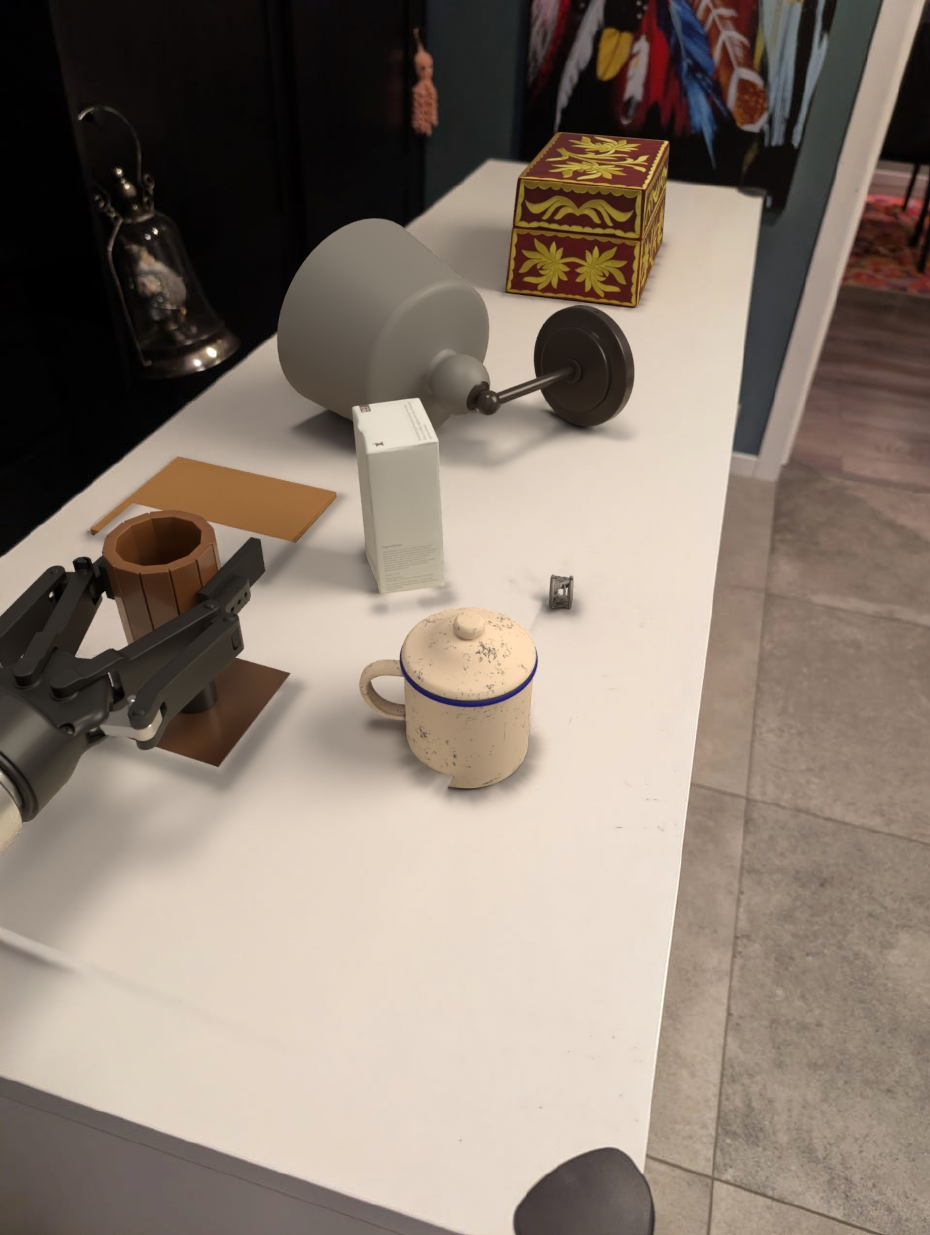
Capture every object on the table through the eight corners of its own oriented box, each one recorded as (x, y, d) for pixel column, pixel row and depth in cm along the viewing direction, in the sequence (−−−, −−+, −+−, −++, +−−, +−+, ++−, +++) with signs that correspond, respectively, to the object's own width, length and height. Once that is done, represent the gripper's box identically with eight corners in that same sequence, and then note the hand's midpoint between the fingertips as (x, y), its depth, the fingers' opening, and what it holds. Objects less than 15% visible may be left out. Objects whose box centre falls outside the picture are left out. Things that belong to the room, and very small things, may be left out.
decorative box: (546, 230, 154) (552, 128, 144) (662, 242, 150) (677, 138, 141) (504, 292, 134) (508, 178, 124) (637, 308, 130) (652, 191, 120)
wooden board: (91, 534, 88) (89, 528, 88) (178, 461, 98) (177, 456, 98) (263, 578, 83) (262, 572, 83) (336, 496, 93) (336, 491, 93)
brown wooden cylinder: (112, 664, 65) (79, 557, 59) (170, 605, 70) (145, 501, 64) (198, 691, 63) (173, 583, 57) (252, 628, 68) (234, 523, 62)
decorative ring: (570, 616, 80) (573, 587, 78) (548, 614, 80) (550, 586, 78) (571, 595, 82) (574, 567, 80) (548, 593, 82) (551, 565, 80)
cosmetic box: (446, 598, 81) (445, 443, 72) (376, 609, 80) (366, 452, 71) (426, 542, 87) (423, 393, 78) (361, 551, 86) (349, 400, 77)
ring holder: (100, 742, 68) (58, 618, 61) (180, 654, 76) (151, 534, 68) (222, 781, 66) (193, 657, 58) (293, 687, 73) (275, 565, 65)
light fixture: (276, 233, 89) (478, 360, 77) (467, 197, 104) (661, 298, 92) (271, 422, 103) (442, 555, 91) (441, 366, 118) (607, 474, 106)
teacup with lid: (534, 704, 72) (543, 580, 64) (527, 799, 65) (537, 673, 57) (375, 691, 72) (366, 568, 65) (352, 784, 66) (339, 658, 58)
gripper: (-147, 774, 55) (104, 554, 71) (143, 882, 50) (342, 617, 66) (-204, 680, 50) (80, 467, 67) (110, 788, 45) (334, 528, 61)
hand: (210, 542), depth 66 cm, fingers closed on brown wooden cylinder, 7 cm apart
